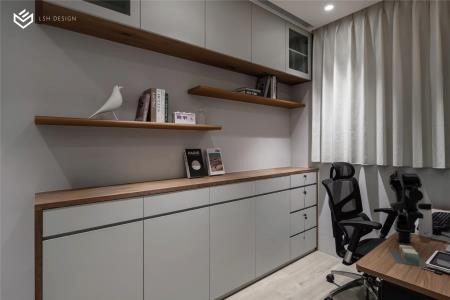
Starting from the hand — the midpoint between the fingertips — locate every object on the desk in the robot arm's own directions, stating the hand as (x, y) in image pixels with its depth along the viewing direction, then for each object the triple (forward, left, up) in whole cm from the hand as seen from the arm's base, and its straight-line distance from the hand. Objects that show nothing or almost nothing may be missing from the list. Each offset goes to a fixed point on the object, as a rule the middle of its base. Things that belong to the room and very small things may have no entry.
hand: (410, 227), depth 124 cm
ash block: (+9, -4, -9) cm, 14 cm away
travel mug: (-27, +14, -12) cm, 33 cm away
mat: (+12, -4, -12) cm, 18 cm away
